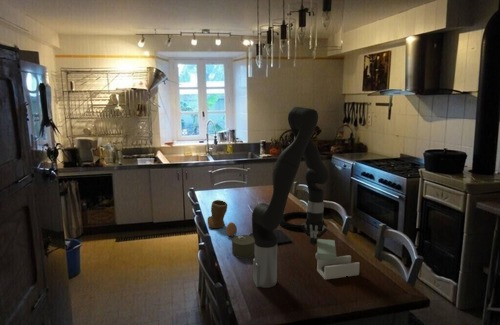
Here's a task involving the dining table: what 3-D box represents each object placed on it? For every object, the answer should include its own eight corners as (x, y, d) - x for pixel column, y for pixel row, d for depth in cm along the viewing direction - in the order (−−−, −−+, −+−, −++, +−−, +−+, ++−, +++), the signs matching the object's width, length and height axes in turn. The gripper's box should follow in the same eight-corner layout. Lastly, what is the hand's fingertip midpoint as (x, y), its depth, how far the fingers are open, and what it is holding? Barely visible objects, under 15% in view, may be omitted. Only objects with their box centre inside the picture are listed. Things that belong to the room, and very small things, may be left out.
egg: (225, 238, 192) (225, 224, 191) (226, 234, 198) (226, 220, 197) (236, 238, 192) (236, 224, 191) (237, 234, 198) (237, 220, 197)
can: (237, 259, 167) (237, 246, 166) (228, 250, 178) (228, 237, 176) (260, 255, 172) (260, 242, 171) (249, 245, 183) (249, 233, 181)
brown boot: (228, 229, 206) (227, 204, 203) (207, 229, 204) (207, 205, 201) (226, 220, 220) (226, 197, 218) (207, 220, 219) (206, 197, 216)
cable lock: (269, 218, 214) (298, 207, 235) (269, 224, 214) (297, 212, 236) (307, 229, 195) (335, 216, 217) (307, 236, 196) (334, 222, 217)
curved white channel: (325, 279, 149) (325, 267, 148) (316, 270, 156) (317, 259, 155) (358, 274, 153) (359, 263, 152) (349, 266, 160) (350, 255, 159)
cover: (336, 260, 153) (336, 255, 153) (315, 259, 155) (315, 253, 154) (334, 245, 169) (334, 240, 169) (315, 243, 171) (315, 238, 171)
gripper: (299, 210, 164) (298, 245, 167) (328, 214, 159) (326, 250, 162) (303, 205, 171) (301, 239, 174) (330, 209, 166) (328, 244, 169)
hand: (313, 244), depth 168 cm, fingers closed
